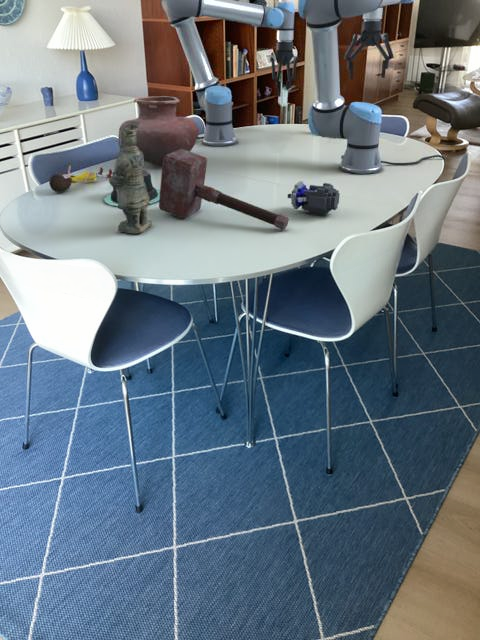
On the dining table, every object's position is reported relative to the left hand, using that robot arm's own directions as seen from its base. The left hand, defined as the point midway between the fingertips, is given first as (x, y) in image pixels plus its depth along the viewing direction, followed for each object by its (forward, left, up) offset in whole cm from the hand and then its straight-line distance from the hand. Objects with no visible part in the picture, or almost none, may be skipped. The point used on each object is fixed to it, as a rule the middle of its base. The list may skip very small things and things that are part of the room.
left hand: (283, 96), depth 264 cm
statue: (+44, -132, -16) cm, 140 cm away
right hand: (+45, -3, +11) cm, 46 cm away
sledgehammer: (+60, -110, -16) cm, 127 cm away
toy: (+77, -89, -16) cm, 119 cm away
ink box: (0, 0, -4) cm, 4 cm away
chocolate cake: (+21, -112, -16) cm, 115 cm away
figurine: (-5, -115, -16) cm, 116 cm away
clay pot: (-3, -77, -16) cm, 79 cm away
